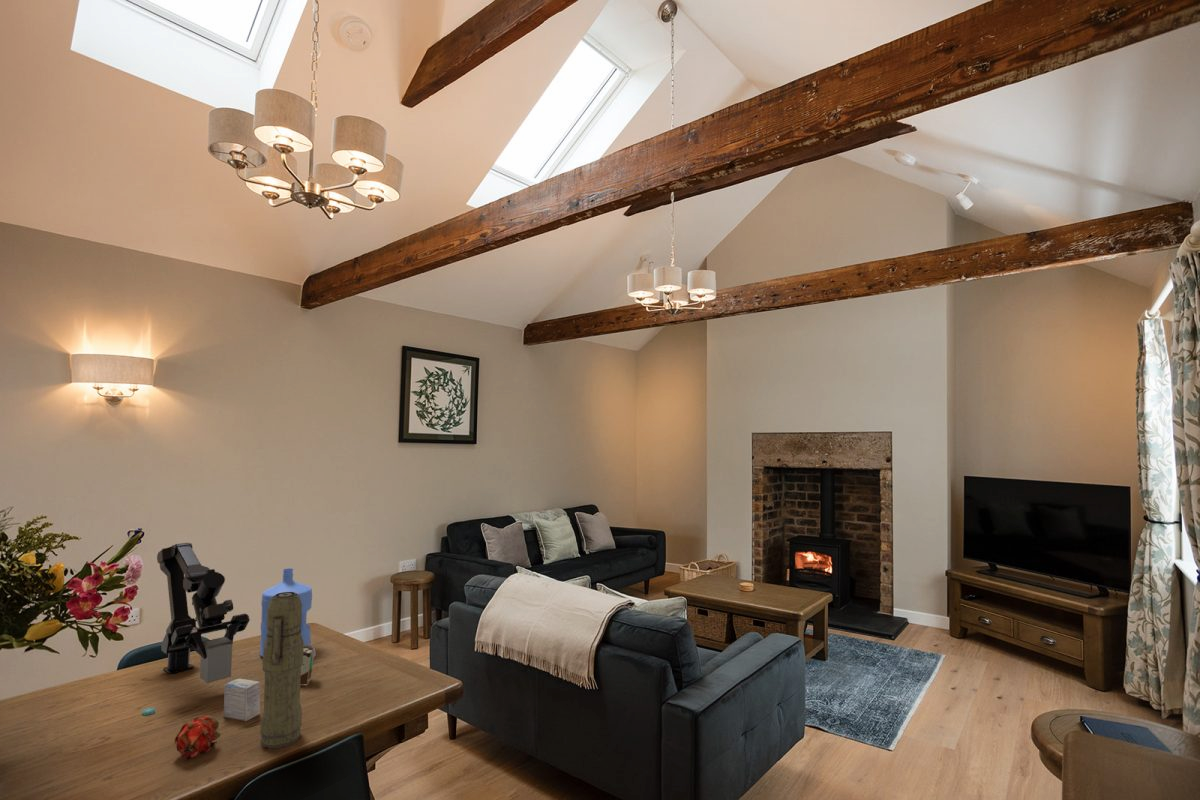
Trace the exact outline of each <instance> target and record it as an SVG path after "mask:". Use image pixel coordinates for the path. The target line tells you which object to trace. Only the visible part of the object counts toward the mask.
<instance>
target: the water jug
mask: <svg viewBox="0 0 1200 800" xmlns="http://www.w3.org/2000/svg"><path fill="white" fill-rule="evenodd" d="M282 571H283V573H282V581H281V582H279V583H277V584H276V585H274V586H272V587H269V588H268V589H266V590H264V591H263V592H262V595H261V619H260V620H261V622H260V647H259V655H260V656H261V657H262V658H263V647H264V644H265V642H266V639H267V633H268V629H267V610H268V606H269V603H270V600H271V598H272V596H274V595H276V594H278V593H282V592H295V593H297V594H299V597H300V600H301V603H302V621H301V625H300V629H301V636H302V639H303V642H304V644H308V645H312V640H311V638H312V637H311V635H312V634H311V633H312V628H311V626H310V625H308V624H307V617H308V615H307V613H308V611H310V610H311V609H312V601H313V589H312V587H311V586H310V585H307V584H304V583H301V582H298V581H295V580H294V579H293V578H294V568H284V569H283V570H282Z"/></svg>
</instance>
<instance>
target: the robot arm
mask: <svg viewBox="0 0 1200 800" xmlns="http://www.w3.org/2000/svg"><path fill="white" fill-rule="evenodd" d="M156 562H157V563H158V564H159V569H160V570H161V572H163V574H164V575H165V576H166V580H167V591H168V599H169V600H168V601H169V609H170V611H169V612H170V619H171V620H170V622H169V625H168V626H167V628H166V630H165V635H164V638H163V639H162V642H161V643H160V645H161V647H160V648H161V652H163V653H164V654H166V655H168V656H167V666H164V667H162V669H163V671H165V672H167V673H169V674H170V675H171V674H175V673H178V672H182V671H187V670H190V669H194V668H195V666H194V665H193V664H191V663H190V658H191V657H190V655H191V649H192V650H194V651H195V652H196V653H197V654H198V655H199V656H200V658H201V657H203V658H204V659H206V657H207V656H206V651H205V648H204V645H203V642H204V641H203V639H202V635H204V634H209V633H213V632H218V631H223V630H224V631H225V634H224V636H223V637H226V638H228V639H229V640H231V641H232V645H233V644H234V643H233V642H234V636H235V635H237V633H240V632H243V631H244V630H246V628H247V627H248V625H249V622H250V621H251V620H250V617H249V615H248V614H247V613H239V614H235V615H232V618H231V620H228V621H225V622H223V621H224V620H225V618H226V617H225V615H227V614H228V613H229V612H232V611H234V603H233V600H232V599H226V600H224V601H223V603H222V602H221V603H218V602H217V597H218V596H219V594H220V592H221V590H222V589H223V588H222V587H223V586H224V584H225V582H226V577H225V576H224V574H222V573H220V572H217V571H216V569H210V567H207V566H205V565H202V563H201V561H200V560H199V559H198V557H197V555H196V554H195V551H194V550H193V544H192V542H182V543H175V544H172V545H171V546H169V547H165V548H162V549H161V550H160V551H158V552H157V556H156ZM194 592H195V593H194ZM187 593H194V594H193V595H192V597H191V605H192V606H193V609H194V613H195V618H194V617H191V616H190V614H189V608H188V607H189V606H188V598H187Z"/></svg>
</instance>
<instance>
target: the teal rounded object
mask: <svg viewBox="0 0 1200 800" xmlns="http://www.w3.org/2000/svg"><path fill="white" fill-rule="evenodd" d="M155 713H156V708H155V707H149V708H145V709H143V710H142V711H141V715H142V716H150V715H153V714H155Z"/></svg>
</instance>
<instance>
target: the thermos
mask: <svg viewBox="0 0 1200 800" xmlns="http://www.w3.org/2000/svg"><path fill="white" fill-rule="evenodd" d="M301 621H302V603H301V600H300V597H299V594H297V593H295V592H282V593H278V594H276V595H274V596H272V598H271V600H270V603H269V606H268V610H267V629H268V633H267V639H266V642H265V644H264V647H263V657H262V670H263V672H264V683H263V684H264V685H263V686H264V689H263V691H264V692H263V713H262V714H261V715H262V716H261V718H260V727H259V728H260V739H261V740H260V746H261V745H262V746H261V747H262V748H265V747H268V748H267V749H278V748H279V749H280V748H283V747H288V746H290V745H292V744H294V743H295V742H297V741H299V740H300V737H301V735H302V734H301V726H302V724H303V723H302V722H303V720H302V719H303V712H302V705H301V703H300V701H301V700H300V699H301V685H300V677H301V666H302V663H303V645H304V642H303V639H302V636H301V629H300V625H301Z"/></svg>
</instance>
